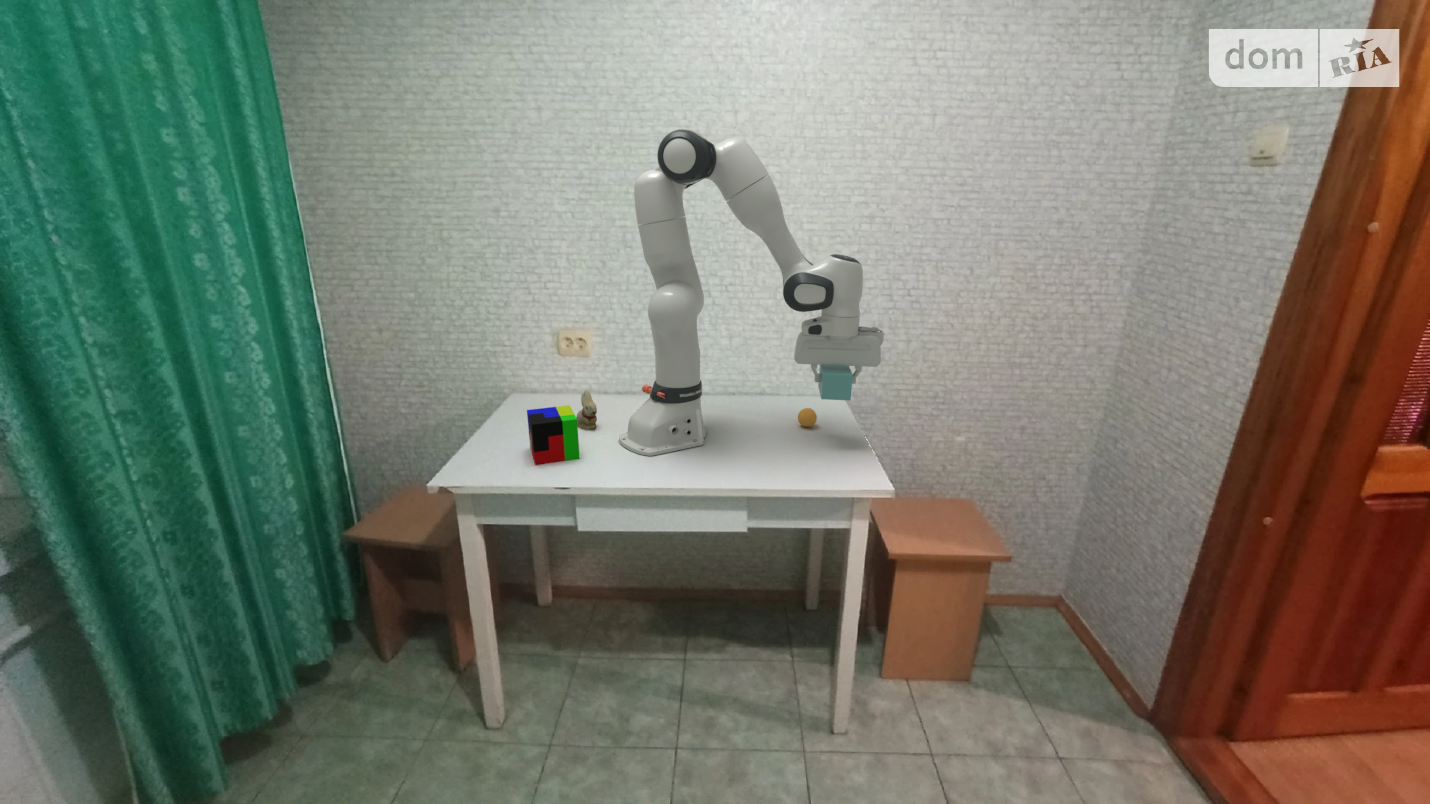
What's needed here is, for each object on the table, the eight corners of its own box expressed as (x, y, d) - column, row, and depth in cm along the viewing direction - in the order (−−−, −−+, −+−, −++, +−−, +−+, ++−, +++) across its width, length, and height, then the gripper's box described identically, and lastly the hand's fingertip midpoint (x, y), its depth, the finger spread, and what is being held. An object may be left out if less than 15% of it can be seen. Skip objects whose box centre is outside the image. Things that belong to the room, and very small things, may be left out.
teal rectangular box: (850, 400, 148) (852, 375, 146) (821, 399, 149) (823, 374, 146) (845, 387, 158) (847, 363, 156) (818, 385, 158) (820, 362, 156)
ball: (807, 431, 165) (808, 413, 163) (793, 425, 168) (794, 408, 166) (820, 426, 168) (821, 409, 166) (805, 421, 171) (807, 404, 170)
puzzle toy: (530, 448, 152) (526, 409, 149) (572, 443, 155) (569, 405, 152) (535, 465, 143) (531, 424, 140) (579, 459, 147) (577, 419, 143)
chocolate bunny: (576, 431, 162) (573, 395, 159) (576, 420, 169) (574, 385, 166) (597, 430, 163) (595, 393, 160) (597, 419, 170) (595, 384, 167)
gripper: (882, 324, 150) (876, 380, 154) (795, 321, 151) (792, 376, 156) (887, 330, 144) (880, 388, 148) (796, 327, 145) (793, 384, 150)
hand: (834, 382), depth 152 cm, fingers closed on teal rectangular box, 7 cm apart
